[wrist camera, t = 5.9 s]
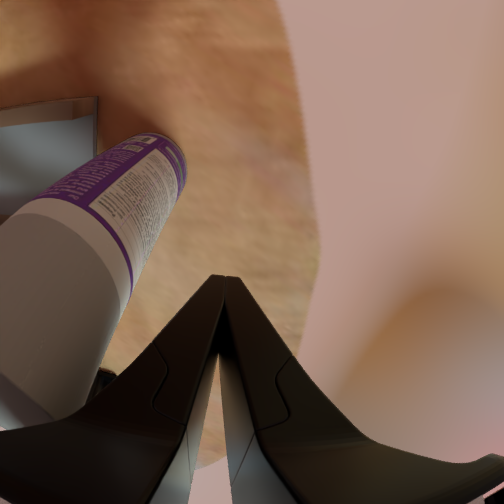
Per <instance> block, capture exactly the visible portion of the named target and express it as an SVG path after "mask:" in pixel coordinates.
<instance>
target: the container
mask: <svg viewBox="0 0 504 504" xmlns="http://www.w3.org/2000/svg"><path fill="white" fill-rule="evenodd" d="M186 179H187V164H186V160H185V157H184V155H183V153H182V151H181V150H180V148H179V147H178V146H177V145H176V144H175V143H174V142H173V141H172V140H171V139H169V138H167V137H166V136H163V135H161V134H157V133H141V134H138V135H135V136H133V137H131V138H129V139H127V140H125V141H123V142H121V143H119V144H117V145H116V146H114V147H112V148H110V149H109V150H107V151H105V152H103V153H102V154H100V155H98V156H96V157H95V158H93V159H91V160H90V161H88V162H86V163H85V164H83V165H82V166H80V167H78V168H77V169H75V170H74V171H72V172H70V173H69V174H67V175H66V176H64V177H63V178H61V179H60V180H58V181H57V182H55V183H54V184H52V185H51V186H50V187H48V188H47V189H45V190H44V191H42V192H41V193H40V194H38V195H37V196H35V197H34V198H33V199H31V200H30V201H29V202H27V203H26V204H25V205H24V206H22V207H21V208H20V209H19V210H18V211H17V212H16V213H14V214H13V215H12V216H11V217H10V218H9V219H8V220H6V221H5V222H4V223H3V224H2V225H1V226H0V426H1V427H3V428H5V429H6V430H10V429H16V428H22V427H27V426H33V425H38V424H42V423H47V422H52V421H56V420H60V419H63V418H65V417H67V416H69V415H71V414H73V413H74V412H76V411H77V410H79V409H80V408H81V407H82V406H84V405H85V402H86V399H87V397H88V394H89V392H90V389H91V386H92V384H93V381H94V379H95V376H96V374H97V371H98V369H99V366H100V364H101V361H102V359H103V357H104V354H105V352H106V350H107V347H108V345H109V343H110V340H111V338H112V336H113V333H114V331H115V329H116V327H117V325H118V322H119V320H120V318H121V316H122V314H123V312H124V310H125V307H126V306H127V303H128V301H129V299H130V297H131V294H132V292H133V290H134V288H135V285H136V283H137V281H138V279H139V276H140V274H141V272H142V270H143V268H144V266H145V263H146V261H147V259H148V257H149V255H150V253H151V251H152V249H153V247H154V244H155V242H156V240H157V238H158V236H159V234H160V232H161V230H162V228H163V226H164V224H165V222H166V220H167V218H168V216H169V215H170V213H171V211H172V209H173V207H174V205H175V203H176V201H177V199H178V197H179V196H180V194H181V192H182V190H183V188H184V185H185V183H186Z"/></svg>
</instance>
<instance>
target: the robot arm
mask: <svg viewBox="0 0 504 504" xmlns="http://www.w3.org/2000/svg"><path fill="white" fill-rule="evenodd" d="M218 354H219V370H220V383H221V395H222V407H223V418H224V429H225V440H226V449H227V459H228V468H229V477H230V485H231V494H232V502H233V504H504V487H503V488H501V489H499V490H497V491H496V492H494V493H493V494H491V495H489V496H487V497H486V498H483V494H485V493H487V492H488V491H490V490H491V489H493V488H495V487H496V486H498V485H499V484H501V483H502V482H504V457H503V456H499V455H496V454H488V455H486V456H484V457H482V458H480V459H478V460H476V461H473V462H469V463H451V462H445V461H441V460H436V459H432V458H428V457H424V456H420V455H417V454H413V453H410V452H406V451H402V450H399V449H396V448H393V447H390V446H386V445H383V444H380V443H377V442H376V441H374V440H372V439H370V438H369V437H367V436H366V435H364V434H363V433H362V432H360V431H359V430H358V429H357V428H356V427H355V426H354V425H353V424H352V423H351V422H350V421H349V420H348V419H347V418H346V416H344V415H343V413H342V412H341V411H340V410H339V409H338V408H337V407H336V406H335V405H334V404H333V403H332V402H331V401H330V400H329V399H328V398H327V396H326V395H325V394H324V393H323V392H322V391H321V390H320V389H319V387H318V386H317V385H316V384H315V383H314V382H313V381H312V379H311V378H310V377H309V376H308V374H307V373H306V372H305V370H304V369H303V368H302V366H301V365H300V364H299V362H298V361H297V359H296V358H295V356H292V352H291V351H290V350H289V348H288V347H287V345H286V344H285V342H284V341H283V340H282V338H281V337H280V335H279V334H278V332H277V331H276V330H275V328H274V327H273V325H272V324H271V322H270V321H269V319H268V318H267V317H266V315H265V314H264V312H263V311H262V309H261V308H260V306H259V305H258V304H257V302H256V301H255V299H254V298H253V296H252V295H251V293H250V292H249V290H248V289H247V287H246V286H245V284H244V283H243V282H242V280H241V279H240V278H239V277H233V276H226V277H225V276H223V275H214V274H212V275H211V276H210V277H209V278H208V279H207V280H206V281H205V282H204V283H203V284H202V286H201V287H200V288H199V289H198V290H197V291H196V292H195V293H194V294H193V296H192V297H191V298H190V299H189V300H188V301H187V302H186V303H185V304H184V306H183V307H182V308H181V309H180V310H179V311H178V312H177V313H176V315H175V316H174V317H173V318H172V319H171V320H170V321H169V322H168V324H167V325H166V326H165V327H164V328H163V329H162V330H161V332H160V333H159V334H158V335H157V336H156V337H155V338H154V339H153V341H152V342H151V343H150V344H149V345H148V346H147V347H146V348H145V349H144V351H143V352H142V353H141V354H140V355H139V356H138V357H137V358H136V359H135V360H134V361H133V362H132V363H131V364H130V365H129V366H128V367H127V368H126V369H125V370H124V371H123V372H122V373H121V374H120V375H118V376H115V375H113V374H108V373H104V372H99V371H97V374H96V376H95V379H94V381H93V384H92V386H91V389H90V392H89V394H88V397H87V399H86V402H85V405H84V406H82V407H81V408H80V409H79V410H77V411H76V412H74V413H73V414H71V415H69V416H67V417H65V418H63V419H60V420H56V421H52V422H47V423H42V424H38V425H33V426H27V427H22V428H16V429H10V430H4V431H0V504H188V499H189V494H190V489H191V483H192V479H193V474H194V469H195V464H196V459H197V454H198V449H199V444H200V439H201V435H202V430H203V425H204V420H205V415H206V410H207V406H208V401H209V396H210V391H211V387H212V382H213V377H214V372H215V368H216V363H217V358H218Z"/></svg>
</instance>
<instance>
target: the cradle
mask: <svg viewBox="0 0 504 504" xmlns="http://www.w3.org/2000/svg"><path fill="white" fill-rule="evenodd" d="M97 104H98V96H95V97H81V98H69V99H59V100H51V101H43V102H36V103H29V104H23V105H17V106H12V107H6V108H1V109H0V226H1V225H2V224H3V223H4V222H5V221H6V220H8V219H9V218H10V217H11V216H12V215H13V214H14V213H16V212H17V211H18V210H19V209H20V208H21V207H22V206H24V205H25V204H26V203H27V202H29V201H30V200H31V199H33V198H34V197H35V196H37V195H38V194H40V193H41V192H42V191H44V190H45V189H47V188H48V187H50V186H51V185H52V184H54V183H55V182H57V181H58V180H60V179H61V178H63V177H64V176H66V175H67V174H69V173H70V172H72V171H74V170H75V169H77V168H78V167H80V166H82V165H83V164H85V163H86V162H88V161H90V160H91V159H93V158H95V157H96V156H97V152H96V136H97Z"/></svg>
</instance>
